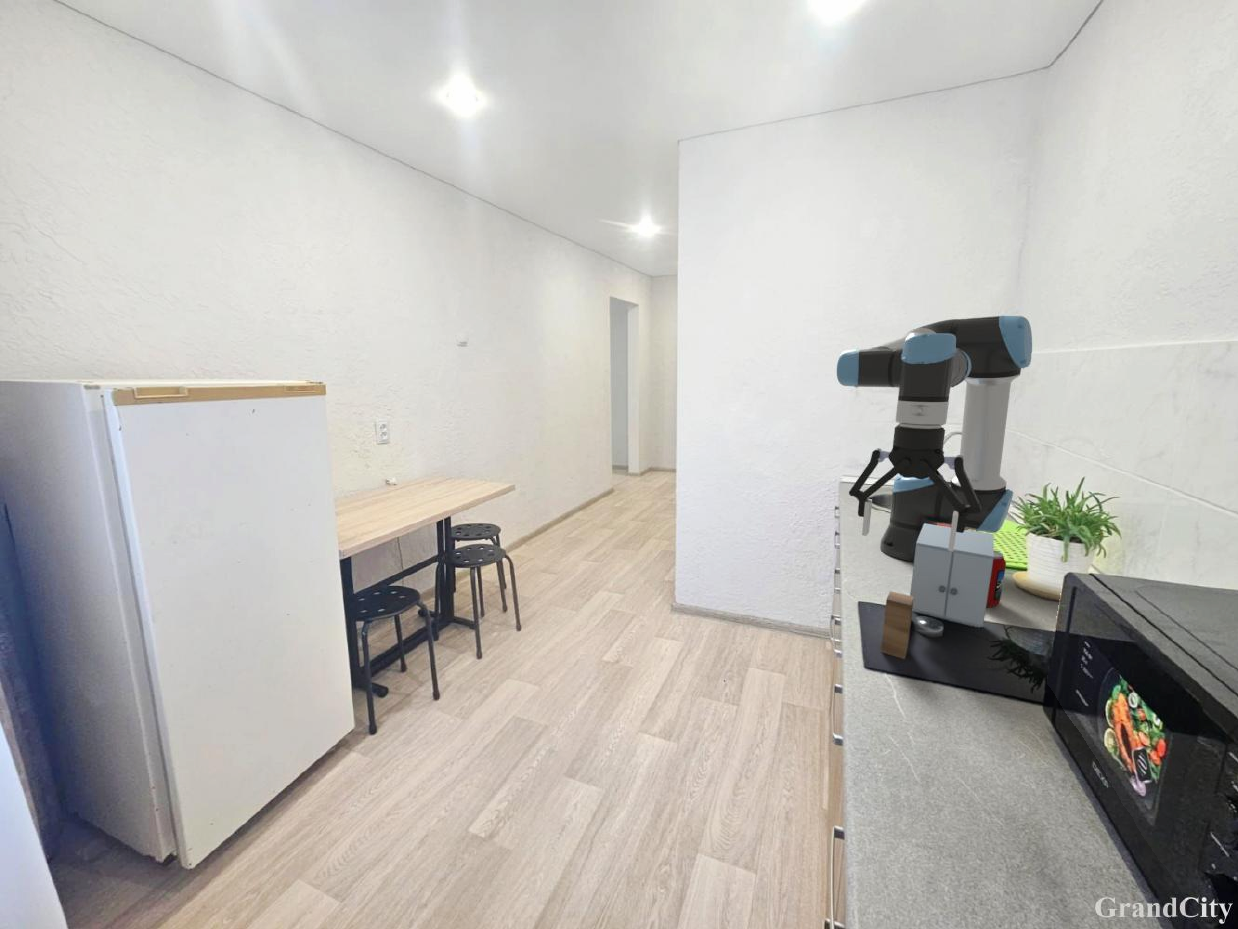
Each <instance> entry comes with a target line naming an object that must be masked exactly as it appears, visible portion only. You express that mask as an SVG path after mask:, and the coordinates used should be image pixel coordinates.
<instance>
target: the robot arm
mask: <svg viewBox="0 0 1238 929" xmlns="http://www.w3.org/2000/svg"><path fill="white" fill-rule="evenodd" d="M1031 328H1032V327H1031V324H1030V321H1029V319H1028V318H1026V317H1025V316H1022V315H995V316H994V315H993V316H985V317H984V316H983V317H972V318H970V317H969V318H959V319H958V318H955V319H954V318H952V319H946V320H940V321H936V322H933V323H930V324H925V325H923V326H920V327H916V328H913V329H912V330H909V331H907V332H906V333H905V334H904V335H903V336H902V337H900V338H898V339H895V340H892V341H889V342H887V343H883V344H881V345H876V346H874V347H871V348H867V349H866V348H864V349H861V348H860V349H859V348H856V349H846V350H845V351H843V352H842V353H841V354H840V355H839V357H838V360H837V363H836V378H837V381H838V382H839V384H841V386H844V387H854V388H859V387H861V388H898V396H897V404H896V405H897V406H896V413H895V422H896V423H898V424H897V425H896V426H895V427H894V432H893V440H892V449H891V450H890V451H887V450H882V449H881V448H880V447H879V448H875V449H874V450H873V451H872V452H871V456H870V461H869V462H868V464H867V466H865V468H864V470H863V471H862V472H861V474H860V475H859V477H858V479H857V480H856V481H855V483H854V484H853V485H852V487H851V489H850V490H849V492H848V495H849V496H850V497H854V498H856V499H858V507H857V515H858V517H860V518H861V517H862V518H863V519H862V520H863V521H862V530H861V535H862V536H865V537H867V536H868V534H869V533H870V528H871V516H872V505H873V499H871V498H870V497H871V496H872V495H873V494H874V493H875V492H877V491H878V490H880V489H881V488H882V487H883V486H884V485H886V484H887V483H888V482H890V481H891V480H892V479H893V478H895V479H894V481H893V486H892V487H893V488H892V490H891V493H892V494H891V505H890V515H889V523H888V526H887V527H886V529H885V532H884V533H883V536H882V537H881V540H880V544H879V548H880V550H881V552H882V553H884V554H886V555H888V556H890V557H893V558H896V559H899V560H903V561H907V562H914V558H915V550H916V542H917V540H918V537H919V535H920V532H921V530H922V527H923V525H924V523H926V524H932V525H938V524H942V525H946V526H950V527H951V532H950V540H949V547H948V551H952V552H953V550H954V545H955V537H956V532H959V533H963V532H964V531H965V530H967V529H968V530H970V531H977V532H983V533H989V534H994V533H997V532H999V531H1000V530H1001V528H1002V527H1003V525H1004V523H1005V520H1006V518H1007V514H1008V512H1009V510H1010V508H1011V507H1010V506H1011V504H1012V500H1013V495H1014V491H1013V490H1011V489H1009V488H1007V481H1006V480H1005V479H1004V478H1003V477H1002V476H1001V467H1002V459H1003V451H1004V443H1005V434H1006V426H1007V417H1008V410H1009V402H1010V401H1009V400H1010V393H1011V385H1012V382H1013V381H1014V380H1015V379H1017V378H1018V377H1019V376H1021V371H1022V369H1025V368H1028V367H1029V366H1030V364H1031V362H1032V352H1033V335H1032V334H1033V333H1032V329H1031ZM963 382H966V386H965V387H966V388H965V397H964V398H965V399H964V405H963V406H964V407H963V408H964V409H963V416H962V417H963V418H962V430H961V439H960V450H959V454H958V455H956V456H944V452H943V450H944V442H945V436H946V435H945V433H946V430H945V428H944V427H942V426H944V425H946V424H947V419H948V410H949V403H950V393H951V392H950V391H951V388H954V387H956V386H957V387H958V385H960V384H961V383H963ZM885 459H888V460H889V461H890V463H891V465H892V466H893V467H892V468H890V469H889V471H887V472H886V473H885V474H883V475H881V477H879V479H878V480H876V481H875V482H874V483H872V484H871V485H870V486H869V487H868V488H867V489H865V490H864V491H863V490H861V489H862V487H863V486H864V484H865V483H866V481H868V479H869V478H870V476H871V474H872V473H873V472H874V470H875V469H876V467H878V464H879V463H882V462H884V461H885ZM944 464H947V465H948V468H949V469H950V470H954V475H952V476H951V477H950V481H947V480H946V479H945V478H944V476H943V475H942V474H941V473H940V472H939V468H941V467H942V466H943V465H944ZM897 475H898V476H897Z"/></svg>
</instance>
